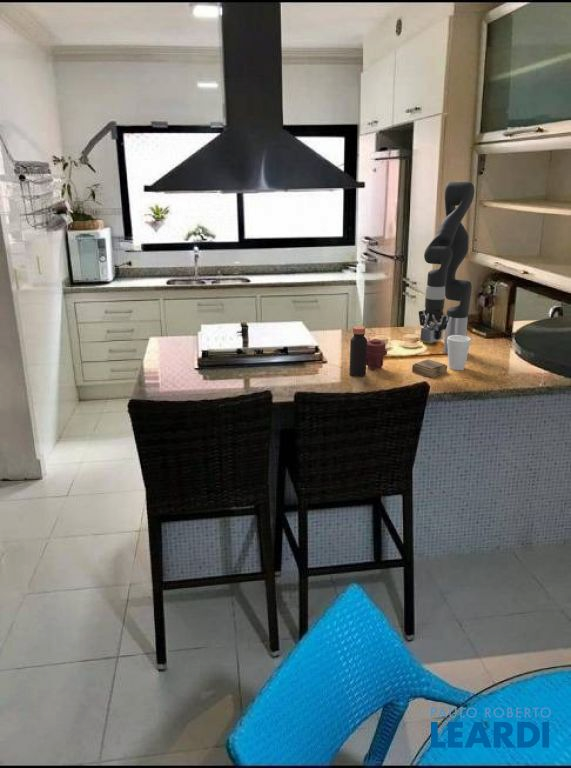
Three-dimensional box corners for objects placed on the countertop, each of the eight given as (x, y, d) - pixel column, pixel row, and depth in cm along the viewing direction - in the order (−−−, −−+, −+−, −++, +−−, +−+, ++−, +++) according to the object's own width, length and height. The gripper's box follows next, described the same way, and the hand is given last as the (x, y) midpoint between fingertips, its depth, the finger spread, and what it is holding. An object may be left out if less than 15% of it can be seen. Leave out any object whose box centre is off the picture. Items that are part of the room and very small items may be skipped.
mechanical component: (386, 365, 259) (385, 372, 249) (363, 364, 261) (361, 371, 251) (388, 337, 254) (387, 344, 245) (364, 336, 256) (362, 343, 247)
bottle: (346, 373, 250) (347, 326, 243) (360, 371, 252) (362, 324, 245) (354, 378, 244) (356, 330, 237) (369, 375, 246) (370, 328, 239)
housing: (432, 336, 249) (433, 322, 247) (442, 339, 245) (443, 324, 243) (420, 340, 244) (421, 325, 242) (430, 342, 241) (431, 328, 239)
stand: (427, 366, 256) (428, 358, 255) (446, 372, 249) (447, 364, 248) (412, 371, 251) (412, 363, 249) (431, 377, 243) (431, 369, 242)
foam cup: (440, 368, 254) (443, 338, 250) (451, 362, 261) (454, 334, 256) (461, 372, 248) (464, 342, 244) (472, 367, 255) (474, 337, 250)
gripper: (455, 298, 236) (452, 340, 242) (426, 292, 246) (423, 332, 252) (443, 301, 232) (440, 343, 237) (414, 295, 242) (412, 336, 248)
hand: (431, 337), depth 245 cm, fingers closed on housing, 5 cm apart
